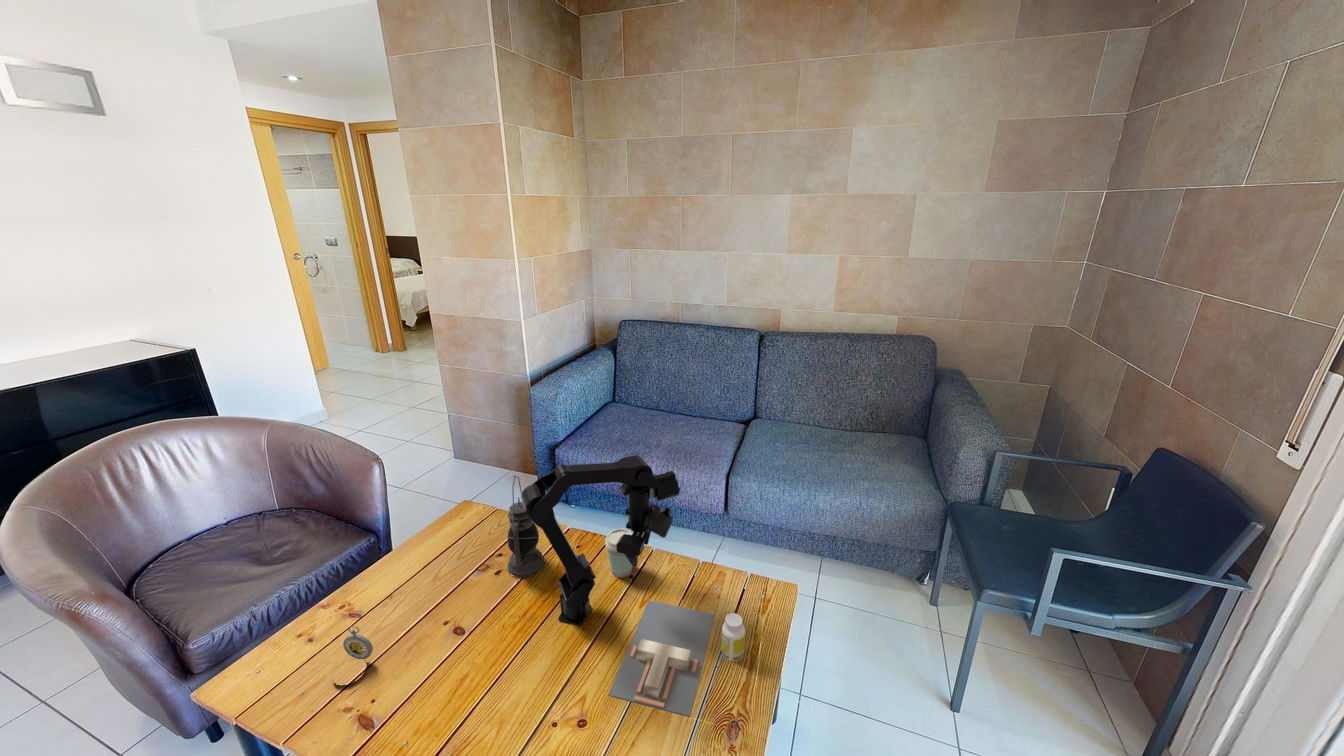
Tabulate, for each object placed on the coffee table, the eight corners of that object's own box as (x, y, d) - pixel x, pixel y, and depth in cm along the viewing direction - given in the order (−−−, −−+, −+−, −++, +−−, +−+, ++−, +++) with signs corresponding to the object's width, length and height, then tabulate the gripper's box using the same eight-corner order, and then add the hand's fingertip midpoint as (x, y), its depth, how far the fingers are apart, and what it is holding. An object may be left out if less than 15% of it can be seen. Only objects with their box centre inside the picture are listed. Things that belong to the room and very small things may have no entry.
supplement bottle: (746, 646, 118) (748, 613, 114) (741, 665, 113) (743, 631, 110) (723, 640, 119) (725, 608, 116) (718, 658, 114) (719, 625, 111)
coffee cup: (642, 568, 143) (641, 533, 140) (624, 586, 137) (622, 550, 133) (619, 557, 148) (617, 523, 144) (600, 574, 141) (598, 539, 137)
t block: (625, 690, 107) (624, 679, 106) (641, 648, 117) (641, 638, 116) (678, 703, 104) (678, 693, 103) (690, 660, 114) (690, 650, 113)
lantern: (538, 580, 139) (528, 487, 129) (501, 580, 139) (488, 487, 129) (549, 551, 150) (540, 464, 141) (514, 551, 151) (503, 464, 141)
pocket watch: (331, 693, 107) (320, 657, 103) (336, 663, 114) (326, 629, 110) (375, 677, 110) (366, 642, 107) (376, 649, 117) (368, 615, 114)
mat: (608, 696, 106) (608, 693, 105) (648, 601, 131) (648, 598, 131) (690, 717, 101) (690, 714, 101) (715, 615, 127) (715, 612, 126)
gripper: (658, 531, 115) (659, 585, 120) (678, 489, 132) (678, 538, 137) (614, 523, 118) (616, 576, 123) (639, 483, 135) (640, 532, 140)
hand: (640, 554), depth 131 cm, fingers open, 9 cm apart
